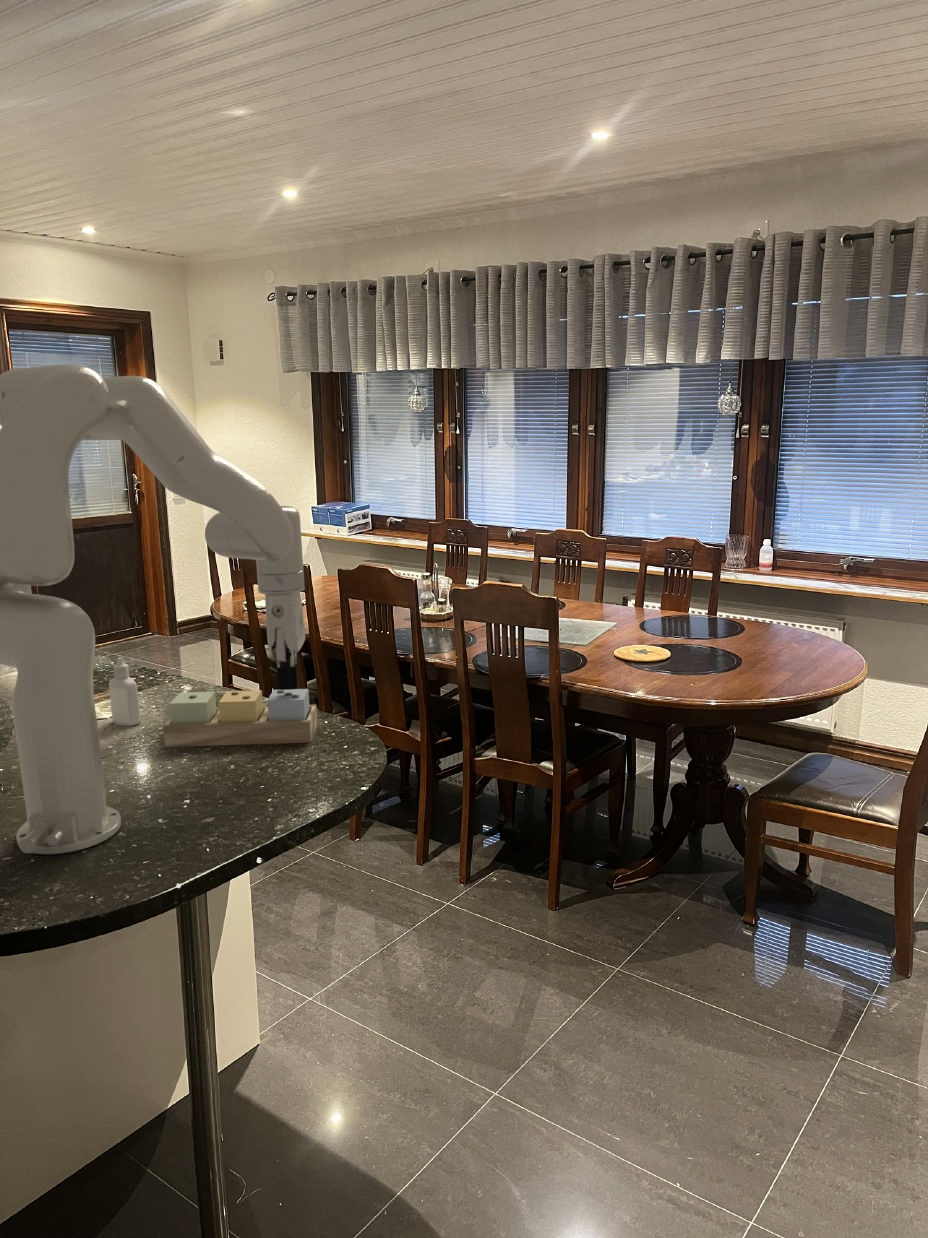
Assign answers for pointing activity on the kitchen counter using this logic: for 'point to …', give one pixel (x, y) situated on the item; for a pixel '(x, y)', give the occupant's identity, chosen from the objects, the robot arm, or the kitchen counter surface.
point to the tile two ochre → (241, 706)
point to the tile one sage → (193, 707)
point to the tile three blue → (288, 705)
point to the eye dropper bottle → (124, 696)
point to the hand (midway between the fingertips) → (288, 687)
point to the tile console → (241, 731)
